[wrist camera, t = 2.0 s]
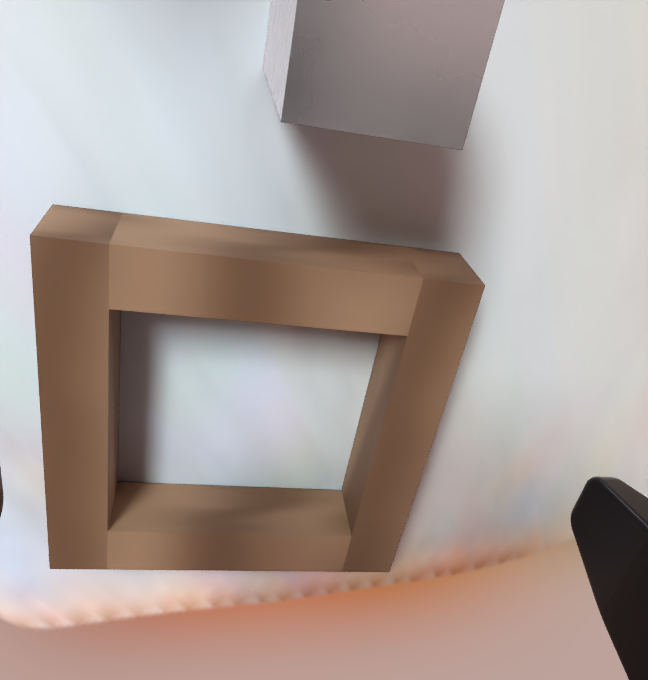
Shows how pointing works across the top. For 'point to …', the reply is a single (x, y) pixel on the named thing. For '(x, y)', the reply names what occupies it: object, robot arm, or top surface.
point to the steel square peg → (380, 65)
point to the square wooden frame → (251, 306)
